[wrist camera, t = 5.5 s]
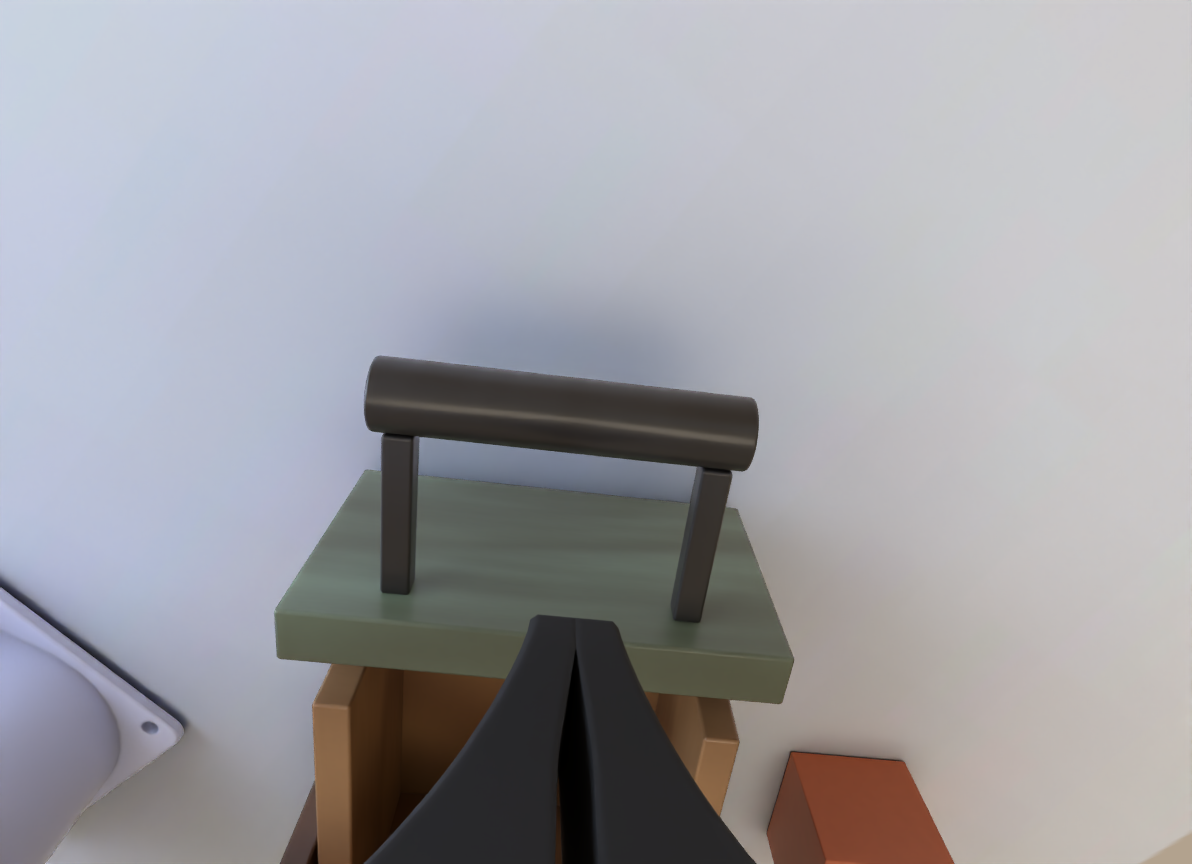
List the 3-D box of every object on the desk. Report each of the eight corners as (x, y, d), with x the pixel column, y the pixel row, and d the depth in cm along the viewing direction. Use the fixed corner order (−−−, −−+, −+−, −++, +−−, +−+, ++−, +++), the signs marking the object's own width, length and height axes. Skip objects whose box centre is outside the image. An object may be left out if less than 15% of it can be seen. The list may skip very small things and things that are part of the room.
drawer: (364, 287, 18) (256, 366, 12) (776, 335, 18) (861, 433, 13) (365, 778, 24) (295, 982, 18) (671, 803, 25) (695, 1009, 19)
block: (791, 751, 25) (825, 860, 21) (904, 761, 25) (959, 871, 21) (766, 833, 26) (794, 948, 23) (873, 842, 27) (919, 957, 23)
